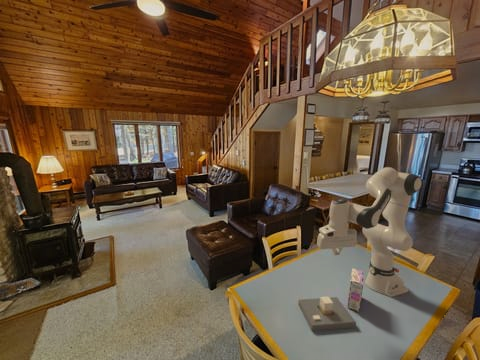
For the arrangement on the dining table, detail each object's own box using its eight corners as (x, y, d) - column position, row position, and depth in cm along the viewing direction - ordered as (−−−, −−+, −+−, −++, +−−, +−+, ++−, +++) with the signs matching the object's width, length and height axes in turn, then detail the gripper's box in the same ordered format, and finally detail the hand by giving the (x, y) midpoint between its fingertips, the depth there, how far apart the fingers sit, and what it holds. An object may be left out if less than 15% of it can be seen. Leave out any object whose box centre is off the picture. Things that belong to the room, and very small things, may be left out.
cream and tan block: (327, 311, 106) (328, 296, 105) (331, 318, 102) (333, 302, 100) (318, 312, 106) (320, 296, 104) (323, 319, 101) (324, 303, 100)
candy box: (359, 312, 106) (363, 284, 103) (347, 308, 109) (350, 280, 106) (360, 296, 117) (363, 270, 114) (349, 292, 120) (352, 267, 118)
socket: (336, 301, 113) (336, 295, 112) (355, 327, 97) (356, 320, 97) (298, 304, 111) (298, 298, 110) (311, 330, 95) (312, 323, 94)
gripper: (352, 226, 107) (350, 249, 110) (316, 228, 105) (315, 253, 107) (361, 231, 101) (358, 256, 103) (322, 234, 99) (320, 259, 101)
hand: (336, 254), depth 105 cm, fingers closed
